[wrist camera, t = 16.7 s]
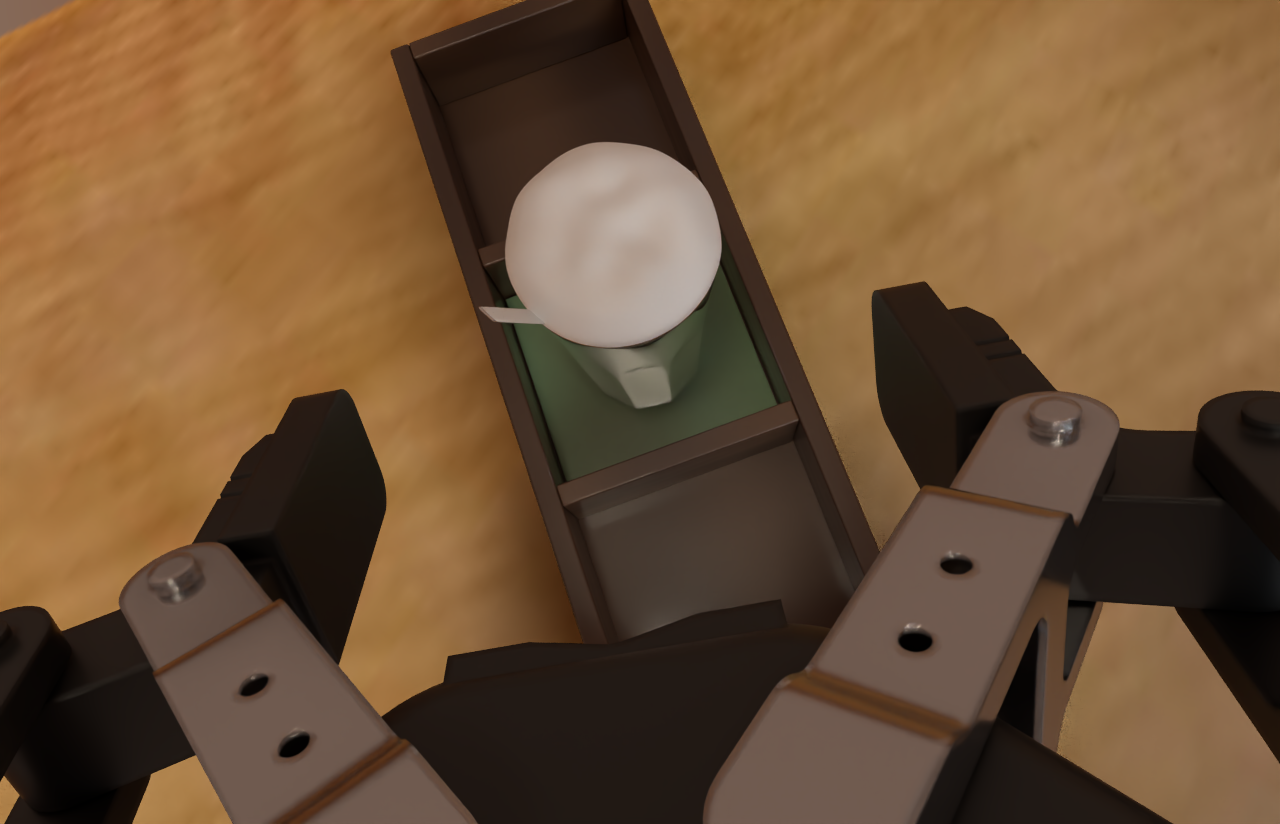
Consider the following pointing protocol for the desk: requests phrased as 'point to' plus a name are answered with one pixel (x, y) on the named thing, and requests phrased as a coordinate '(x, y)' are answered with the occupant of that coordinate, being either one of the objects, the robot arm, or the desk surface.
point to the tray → (566, 395)
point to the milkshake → (616, 266)
